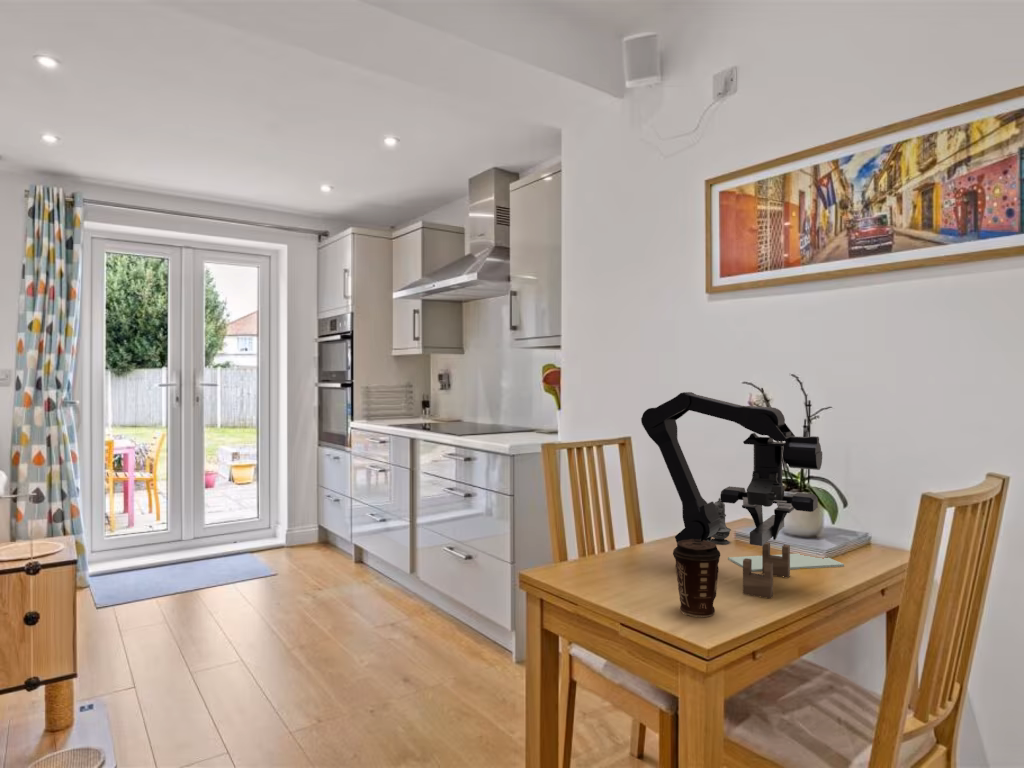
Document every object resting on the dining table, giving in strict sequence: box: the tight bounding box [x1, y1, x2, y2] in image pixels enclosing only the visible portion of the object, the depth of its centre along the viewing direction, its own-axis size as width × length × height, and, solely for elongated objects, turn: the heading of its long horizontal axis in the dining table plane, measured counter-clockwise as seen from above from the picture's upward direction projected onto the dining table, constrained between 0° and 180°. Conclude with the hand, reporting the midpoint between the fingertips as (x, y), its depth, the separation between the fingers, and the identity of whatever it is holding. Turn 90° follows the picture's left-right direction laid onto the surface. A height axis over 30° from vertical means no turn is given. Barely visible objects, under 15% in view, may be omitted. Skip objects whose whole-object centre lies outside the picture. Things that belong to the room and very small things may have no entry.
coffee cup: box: [672, 539, 721, 618], centre depth 119 cm, size 9×8×13 cm
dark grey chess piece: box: [708, 497, 732, 546], centre depth 169 cm, size 6×6×12 cm
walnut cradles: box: [742, 541, 791, 599], centre depth 135 cm, size 18×5×7 cm, turn 145°
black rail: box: [749, 514, 785, 547], centre depth 134 cm, size 20×2×2 cm, turn 145°
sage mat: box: [727, 553, 845, 573], centre depth 150 cm, size 24×10×1 cm, turn 100°
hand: (767, 538), depth 134 cm, fingers closed on black rail, 2 cm apart
